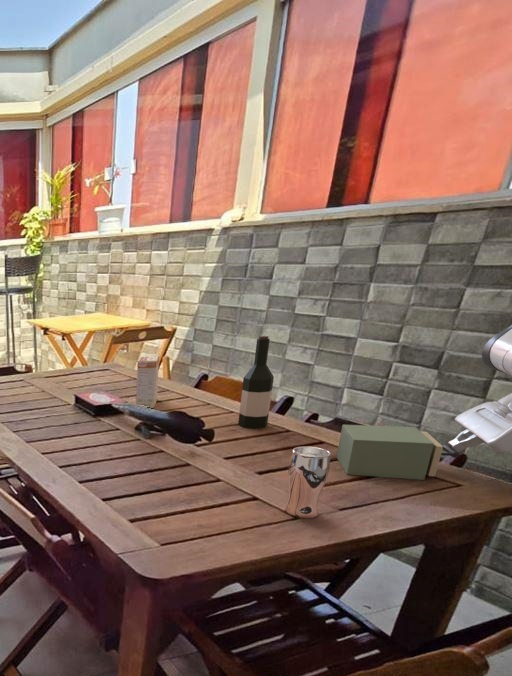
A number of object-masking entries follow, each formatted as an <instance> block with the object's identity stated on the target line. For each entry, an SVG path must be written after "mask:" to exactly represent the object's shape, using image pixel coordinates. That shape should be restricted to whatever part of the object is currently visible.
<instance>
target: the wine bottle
mask: <svg viewBox="0 0 512 676" xmlns="http://www.w3.org/2000/svg"><path fill="white" fill-rule="evenodd" d="M270 340H271V339H270V338H269V336H268V335H259V336H258V338H257V339H256V345H255V353H254V362H253V365H252V367H251V368H250V369H249V370H248V371H247V373H246V374H245V375H244V376H243V381H242V387H241V388H242V389H241V397H240V405H239V412H238V413H239V414H238V423H237V425H238V426H239V425H240V427H241V426H242V428H244V427H245V428H244V429H250V430H251V429H252V430H257V429H265V428H266V427H267V426H268V422H269V415H270V407H271V400H272V393H273V385H274V378H275V376H274V375H273V373H272V371H271V370H270V368H269V366H268V365H267V363H268V355H269V348H270Z"/></svg>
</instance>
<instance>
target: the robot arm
mask: <svg viewBox="0 0 512 676" xmlns="http://www.w3.org/2000/svg"><path fill="white" fill-rule="evenodd" d="M481 358H482V362H483V363H484V364H485V365H486V366H487V367H488V368H489V369H491V370H494V371H495V372H496V371H497V372H500V373H504V374H507V375H509V376H511V377H512V324H511V325H509V326H508V327H506V328H504V329H503V330H501V331H500V332H498V333H497V334H495V335H494V336H492V337H490V339H489V340H488V341H486V343H485V344H484V346H483V348H482V351H481ZM454 421H455V422H456V423H458V424H459V425H460V426H461V427H462V428H463V429H464V430H463V431H461V432H460V433H458V435H457V436H455V438H453V439H451V440H449V441H448V442H447V444H448V445H450V446H451V447H452V448H453V449H454V450H456V451H457V452H461V451H463V450H465V449H468V448H472V447H476V446H479V445H481V444H485V445H486V446H488V447H489V448H491V449H492V450H493V451H494V452H496V453H497V454H499V455H500V454H501V455H502V454H506V453H510V452H512V392H511V393H509V394H507V395H505V396H504V397H502V398H500V399H497V400H496V401H495V400H494V401H486V402H483V403H481V404H478V405H476V406H474V407H472V408H470V409H467V410H466V411H464V412H461V413H460V414H458V415H457V416H455V418H454Z"/></svg>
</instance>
